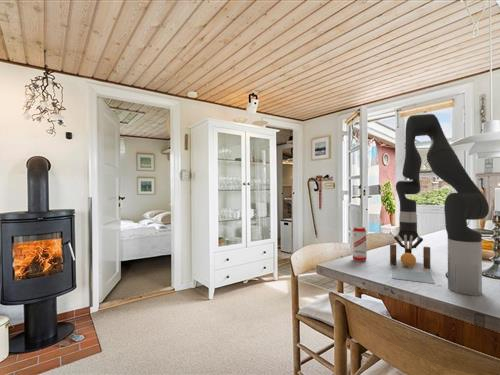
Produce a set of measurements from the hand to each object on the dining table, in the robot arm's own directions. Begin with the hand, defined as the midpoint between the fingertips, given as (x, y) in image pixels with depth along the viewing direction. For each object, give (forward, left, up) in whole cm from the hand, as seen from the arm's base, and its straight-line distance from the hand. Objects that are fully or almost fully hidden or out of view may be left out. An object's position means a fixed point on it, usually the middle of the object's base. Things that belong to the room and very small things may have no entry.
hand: (408, 256), depth 136 cm
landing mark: (-29, 0, -2) cm, 29 cm away
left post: (-13, +7, -2) cm, 15 cm away
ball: (-14, +1, +2) cm, 14 cm away
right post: (-13, -6, -2) cm, 15 cm away
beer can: (-13, +21, -2) cm, 25 cm away
